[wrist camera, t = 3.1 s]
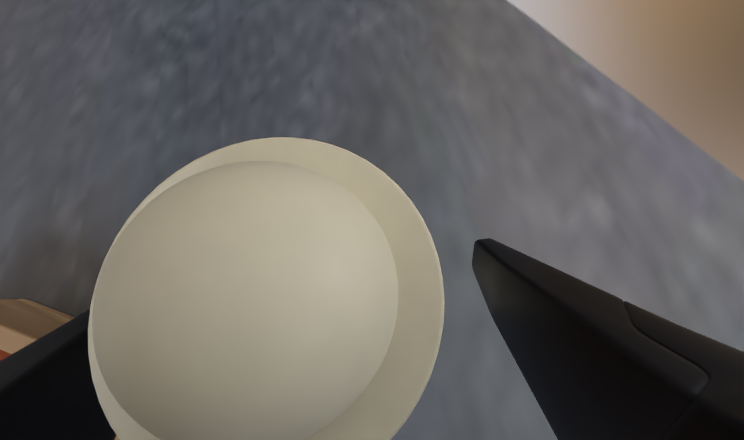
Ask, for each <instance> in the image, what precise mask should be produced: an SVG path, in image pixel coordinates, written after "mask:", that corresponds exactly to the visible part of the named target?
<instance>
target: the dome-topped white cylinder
mask: <svg viewBox="0 0 744 440" xmlns="http://www.w3.org/2000/svg"><path fill="white" fill-rule="evenodd" d="M444 304H445V301H444V287H443V277H442V272H441V267H440V262H439V257H438V254H437V251H436V248H435V245H434V242H433V239H432V236H431V234H430V232H429V230H428V228H427V226H426V224H425V222H424V220H423V218H422V216H421V215H420V213H419V212H418V210H417V209H416V207H415V206H414V204H413V203H412V201H411V200H410V199H409V197H408V196H407V195H406V194H405V193H404V192H403V190H402V189H401V188H400V187H399V186H398V185H397V184H396V183H395V182H394V181H393V180H392V179H391V178H390V177H388V176H387V175H386V174H385V173H384V172H383V171H381V170H380V169H378V168H377V167H376V166H374V165H373V164H371V163H370V162H368V161H367V160H365V159H363V158H361V157H359V156H358V155H356V154H354V153H352V152H350V151H347V150H345V149H342V148H339V147H337V146H334V145H331V144H327V143H323V142H319V141H315V140H310V139H301V138H288V137H273V138H264V139H255V140H250V141H246V142H241V143H237V144H233V145H230V146H227V147H224V148H221V149H218V150H216V151H213V152H211V153H209V154H207V155H205V156H203V157H200V158H198V159H196V160H194V161H193V162H191V163H189V164H188V165H186V166H185V167H183V168H181V169H180V170H178V171H176V172H175V173H174V174H173V175H171V176H170V177H169V178H167V179H166V180H165V181H164V182H162V183H161V184H160V185H159V186H158V187H157V188H155V189H154V190H153V191H152V192H151V193H150V194H149V195H148V196H147V197H146V198H145V199H144V200H143V201H142V202H141V204H140V205H139V206H138V207H137V208H136V210H135V211H134V212H133V213H132V214H131V216H130V217H129V218H128V219H127V221H126V222H125V224H124V226H123V227H122V229H121V230H120V232H119V233H118V235H117V236H116V238H115V240H114V242H113V244H112V245H111V247H110V249H109V251H108V253H107V255H106V257H105V259H104V262H103V265H102V267H101V270H100V273H99V275H98V278H97V281H96V285H95V289H94V293H93V297H92V301H91V306H90V315H89V324H88V355H89V362H90V368H91V375H92V380H93V383H94V387H95V390H96V393H97V397H98V400H99V403H100V405H101V407H102V409H103V412H104V414H105V416H106V418H107V420H108V422H109V424H110V426H111V428H112V429H113V430H114V432H115V433H116V435H117V436H118V438H119V439H120V440H391V439H392V438H393V436H394V435H395V434H396V433H397V432H398V430H399V429H400V428H401V427H402V426H403V424H404V423H405V422H406V420H407V419H408V417H409V416H410V414H411V412H412V411H413V409H414V408H415V406H416V405H417V403H418V401H419V400H420V398H421V396H422V394H423V391H424V389H425V387H426V385H427V383H428V381H429V378H430V376H431V374H432V371H433V367H434V364H435V361H436V358H437V355H438V352H439V347H440V341H441V336H442V331H443V322H444Z"/></svg>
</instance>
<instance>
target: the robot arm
mask: <svg viewBox="0 0 744 440" xmlns="http://www.w3.org/2000/svg"><path fill="white" fill-rule="evenodd" d="M472 267H473V271H474V274H475V276H476V279H477V281H478V284H479V286H480V289H481V291H482V294H483V296H484V299H485V301H486V304H487V306H488V309H489V311H490V313H491V316H492V318H493V320H494V322H495V324H496V326H497V327H498V329H499V331H500V333H501V335H502V337H503V339H504V340H505V342H506V344H507V346H508V348H509V350H510V352H511V353H512V355H513V357H514V359H515V361H516V363H517V365H518V366H519V368H520V370H521V372H522V374H523V376H524V378H525V379H526V381H527V383H528V385H529V387H530V389H531V391H532V392H533V394H534V396H535V398H536V400H537V402H538V404H539V405H540V407H541V409H542V411H543V413H544V415H545V417H546V418H547V420H548V422H549V424H550V426H551V428H552V430H553V431H554V433H555V435H556V437H557V439H558V440H744V352H742V351H740V350H737V349H735V348H733V347H730V346H728V345H725V344H723V343H720V342H718V341H715V340H713V339H711V338H708V337H706V336H703V335H701V334H699V333H696V332H694V331H691V330H689V329H687V328H684V327H682V326H679V325H677V324H675V323H672V322H670V321H668V320H666V319H664V318H661V317H659V316H657V315H655V314H652V313H650V312H648V311H646V310H644V309H641V308H639V307H637V306H635V305H633V304H631V303H629V302H626V301H624V302H623V301H622V299H620V298H618V297H616V296H613V295H611V294H609V293H607V292H605V291H603V290H600V289H598V288H596V287H594V286H592V285H590V284H588V283H585V282H583V281H581V280H579V279H577V278H575V277H572V276H570V275H568V274H566V273H564V272H562V271H560V270H557V269H555V268H553V267H551V266H549V265H547V264H544V263H542V262H540V261H538V260H536V259H534V258H532V257H529V256H527V255H525V254H523V253H521V252H519V251H516V250H514V249H512V248H510V247H508V246H506V245H504V244H501V243H499V242H497V241H495V240H493V239H490V238H488V239H480V240H477V241H475V244H474V251H473V259H472ZM89 315H90V309H89V310H87V311H86V312H84V313H82V314H81V315H79V316H77V317H75V318H74V319H72V320H70V321H68V322H67V323H65V324H63V325H62V326H60V327H58V328H56V329H55V330H53V331H51V332H49V333H48V334H46V335H44V336H43V337H41V338H39V339H37V340H36V341H34V342H32V343H30V344H29V345H27V346H25V347H24V348H22V349H20V350H18V351H17V352H15V353H13V354H11V355H10V356H8V357H6V358H5V359H3V360H1V361H0V440H114V439H115V437H116V433H115V432H114V430H113V429H112V428H111V426H110V424H109V422H108V420H107V418H106V416H105V414H104V412H103V409H102V407H101V405H100V403H99V400H98V397H97V393H96V390H95V387H94V383H93V380H92V375H91V368H90V362H89V355H88V324H89Z"/></svg>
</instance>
